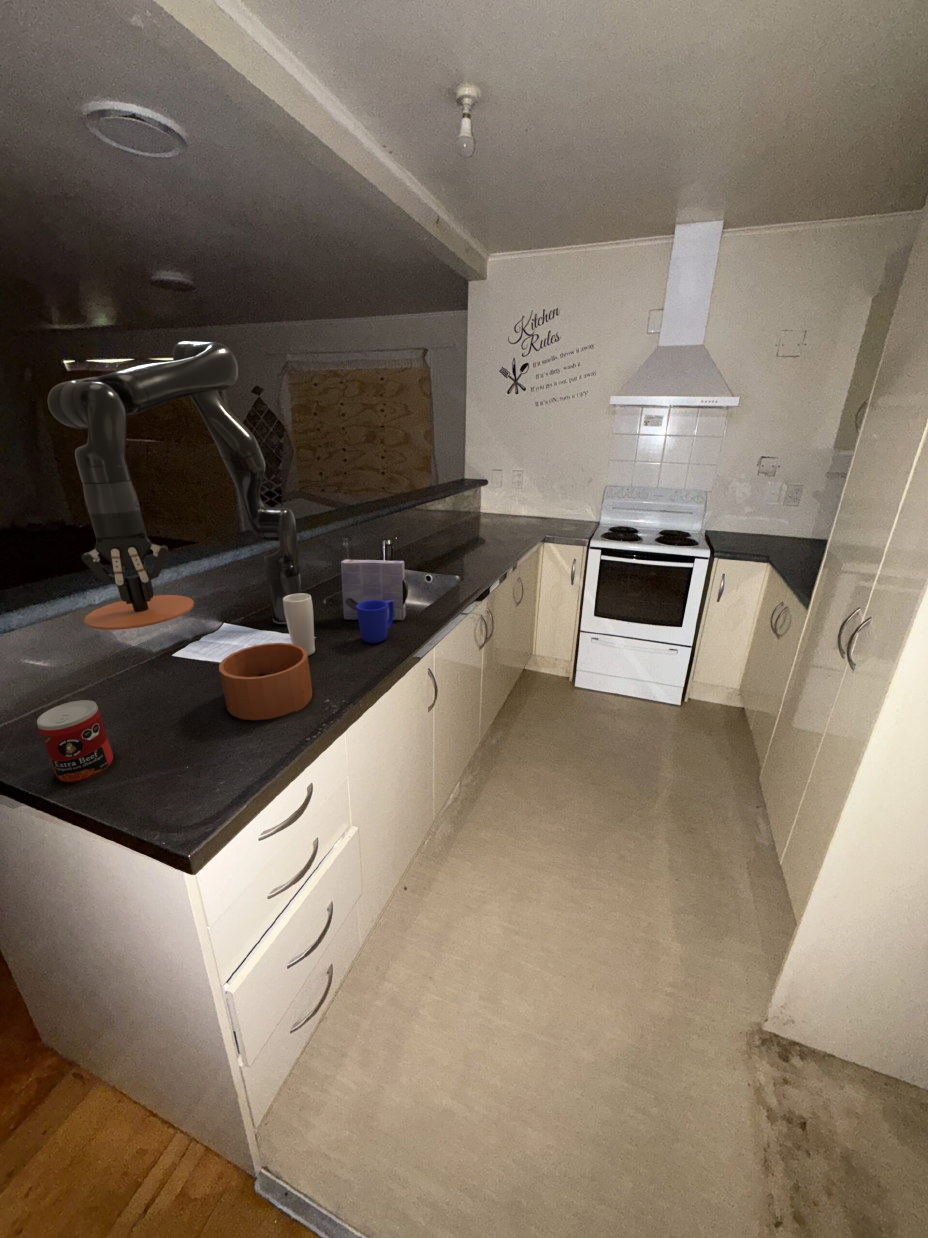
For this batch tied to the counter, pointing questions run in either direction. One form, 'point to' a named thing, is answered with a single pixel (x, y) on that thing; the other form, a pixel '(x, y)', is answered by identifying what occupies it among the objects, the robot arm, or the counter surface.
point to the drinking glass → (300, 620)
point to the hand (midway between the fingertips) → (139, 601)
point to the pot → (266, 681)
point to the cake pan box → (373, 585)
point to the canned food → (75, 740)
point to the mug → (374, 619)
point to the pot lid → (138, 609)
